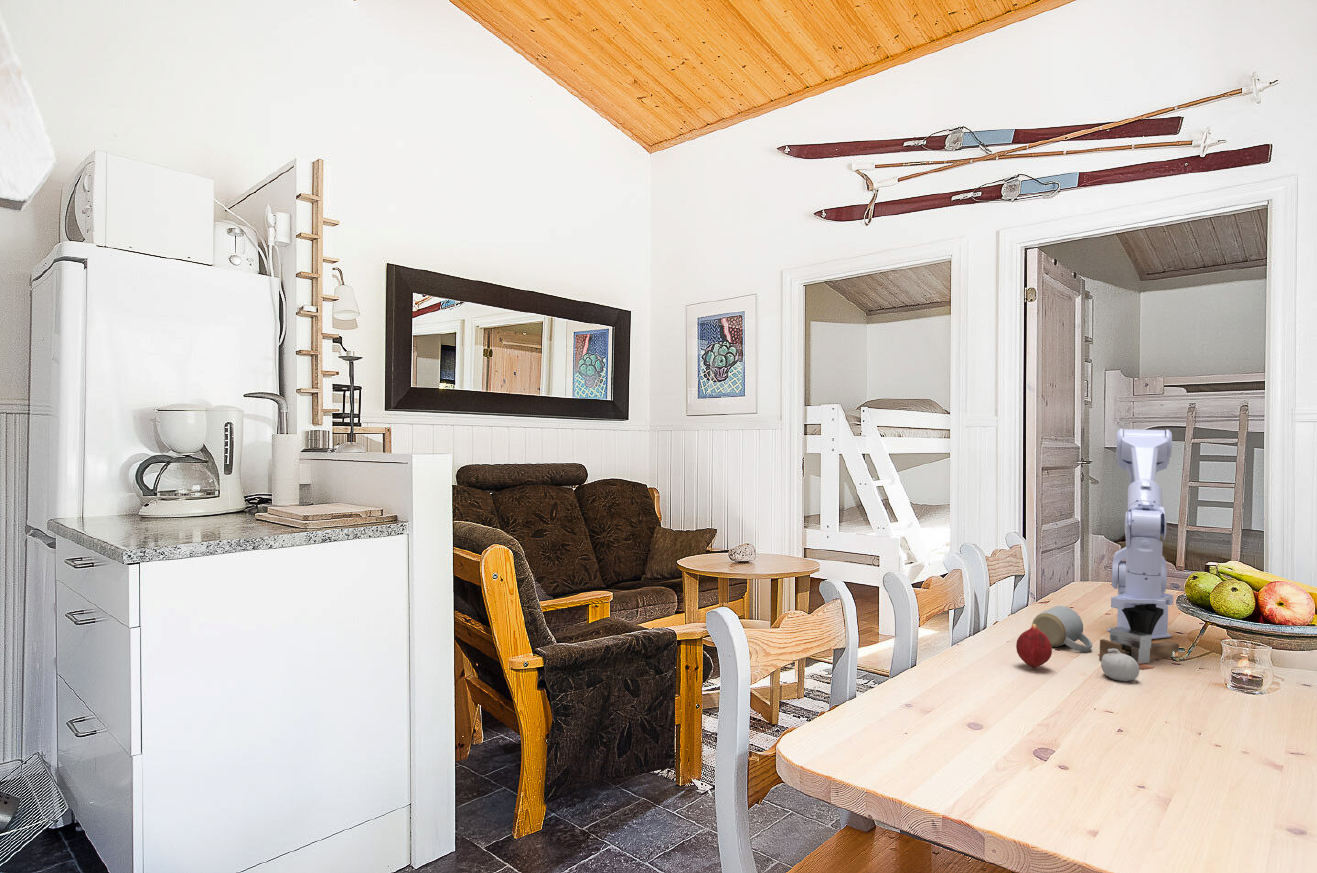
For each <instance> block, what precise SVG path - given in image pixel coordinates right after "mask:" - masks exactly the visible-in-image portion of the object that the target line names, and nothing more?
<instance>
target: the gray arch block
mask: <svg viewBox="0 0 1317 873" xmlns="http://www.w3.org/2000/svg"><path fill="white" fill-rule="evenodd" d="M1109 628H1110V631H1109V641H1112V642H1115V643H1119V644H1122V649H1126V646H1131V647H1132V651H1131V657H1132V658H1133V659H1134V660H1135V661H1136V662H1137V663H1138V664H1141V663H1143V664H1146V663H1147V664H1148V663H1150V661H1151V660H1150V648H1151V643H1152V639H1151V636H1152V635H1150V634H1146V633H1143V632H1139V631H1135V630H1132V629H1128V628H1124V627H1117V626H1113V627H1109Z"/></svg>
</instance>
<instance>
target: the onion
mask: <svg viewBox="0 0 1317 873" xmlns="http://www.w3.org/2000/svg"><path fill="white" fill-rule="evenodd" d="M1015 644H1016V645H1015V647H1016V653H1017V655H1018V657H1019V658H1020V659H1021V660H1022V662H1024V663H1025V664H1026V665H1027V667H1029V668H1030V669H1033V670H1034V669H1037V668H1038V667H1041V666H1042V665H1044V664H1045V663H1047V662H1048V661H1049V660H1050V658H1051V657H1052V654H1053V647H1052V646H1051V643H1050V641H1049V639H1048V638H1047V636H1046V635H1045V634H1044V633H1043V632H1041V631H1040V630H1039V629H1038V626H1037V625H1036V624H1032V623H1031V627H1030V628H1029V629H1028V630H1025V631H1023V632H1022V633H1021V634H1020V635H1019V636H1018V638H1017V640H1016V643H1015Z"/></svg>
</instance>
